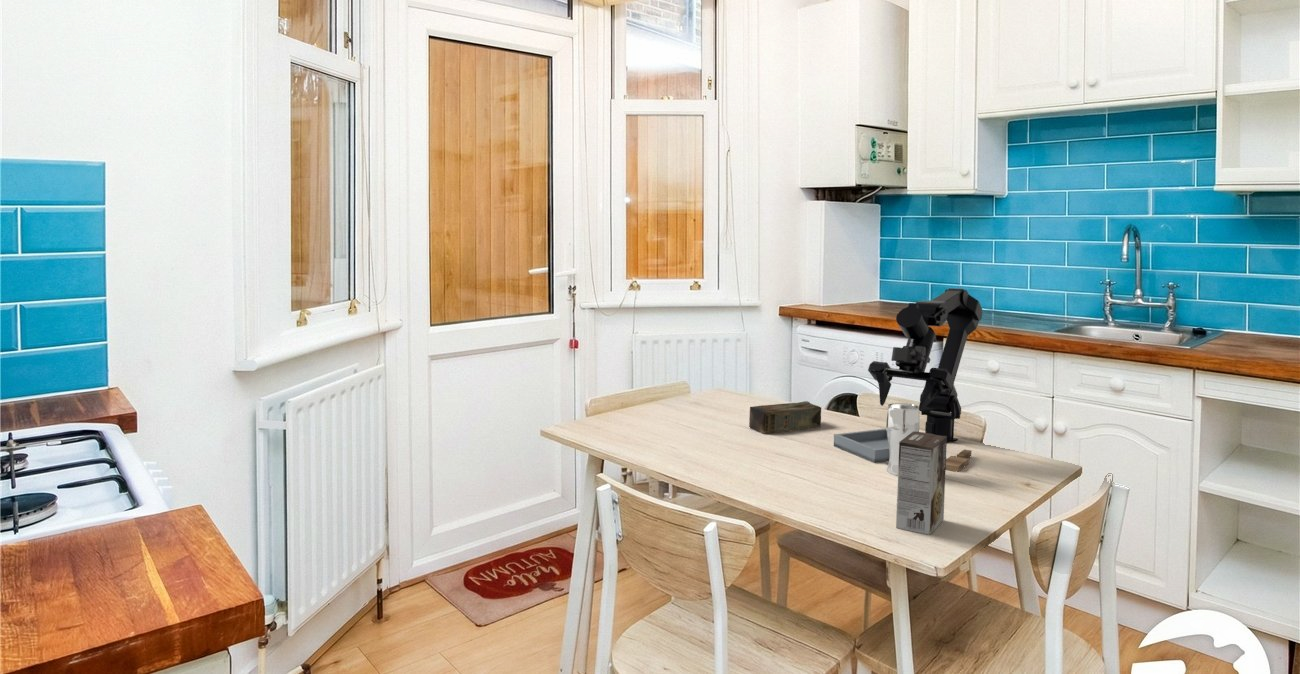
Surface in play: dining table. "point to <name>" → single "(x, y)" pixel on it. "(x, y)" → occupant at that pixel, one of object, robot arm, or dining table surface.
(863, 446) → the tray
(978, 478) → the dining table surface
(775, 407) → the beverage carton
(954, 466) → the scraper paddle
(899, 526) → the coffee box
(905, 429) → the silver metal cup
